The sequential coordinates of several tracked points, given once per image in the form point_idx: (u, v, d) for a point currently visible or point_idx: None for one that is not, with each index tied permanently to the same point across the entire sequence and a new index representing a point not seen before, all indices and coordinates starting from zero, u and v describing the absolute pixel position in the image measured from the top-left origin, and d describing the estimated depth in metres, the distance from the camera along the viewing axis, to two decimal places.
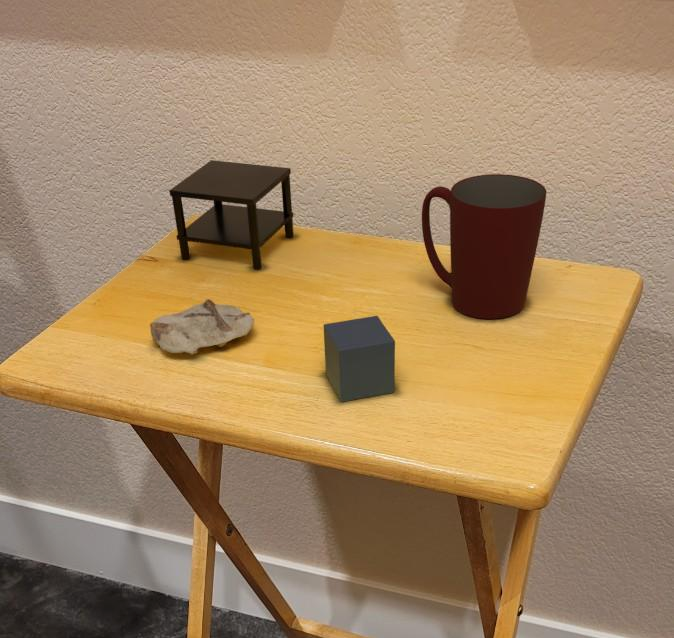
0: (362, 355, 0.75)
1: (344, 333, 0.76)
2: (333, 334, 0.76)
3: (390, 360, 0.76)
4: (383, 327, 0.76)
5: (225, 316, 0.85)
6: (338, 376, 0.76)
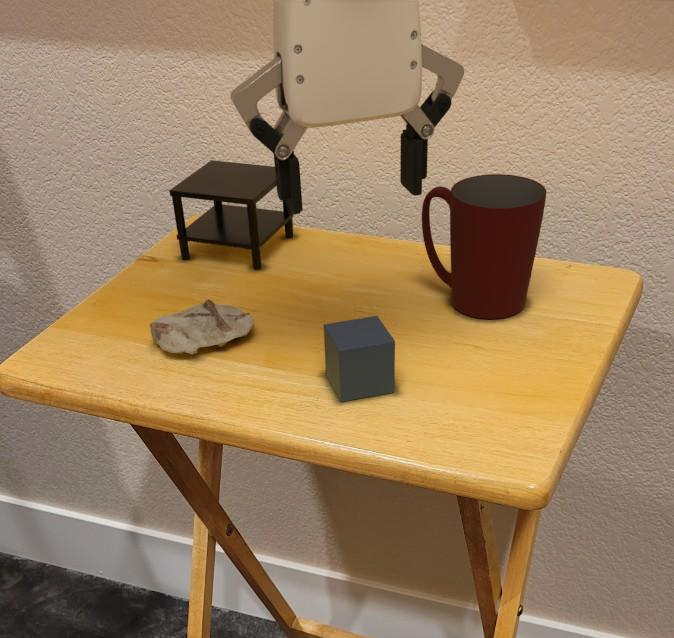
0: (362, 355, 0.75)
1: (344, 333, 0.76)
2: (333, 334, 0.76)
3: (390, 360, 0.76)
4: (383, 327, 0.76)
5: (225, 316, 0.85)
6: (338, 376, 0.76)
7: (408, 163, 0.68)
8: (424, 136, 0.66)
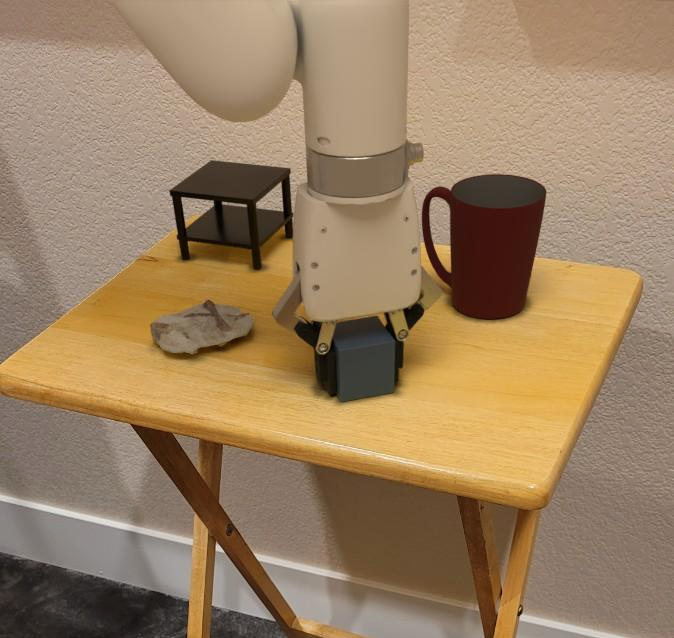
0: (362, 355, 0.75)
1: (344, 333, 0.76)
2: (333, 334, 0.76)
3: (390, 360, 0.76)
4: (383, 327, 0.76)
5: (225, 316, 0.85)
6: (338, 376, 0.76)
7: None
8: (400, 338, 0.76)
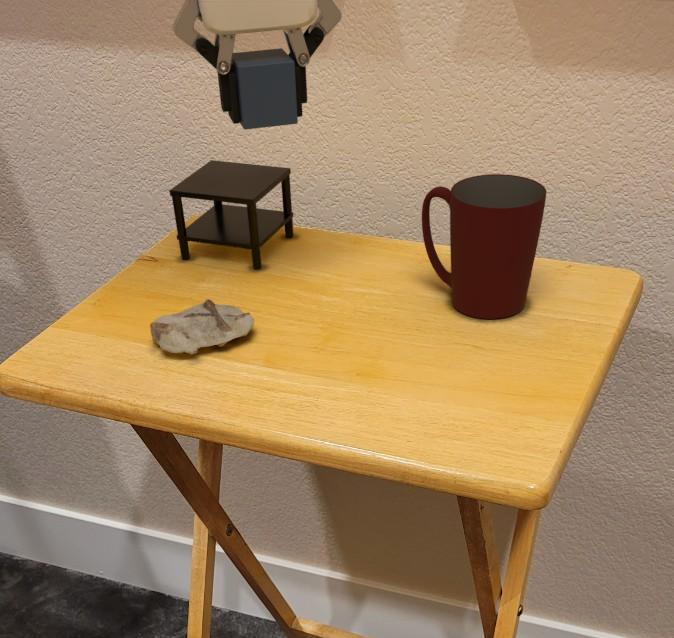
0: (262, 74, 0.77)
1: (246, 57, 0.78)
2: (235, 58, 0.78)
3: (291, 84, 0.78)
4: (285, 54, 0.78)
5: (225, 316, 0.85)
6: (240, 100, 0.78)
7: None
8: (301, 63, 0.78)
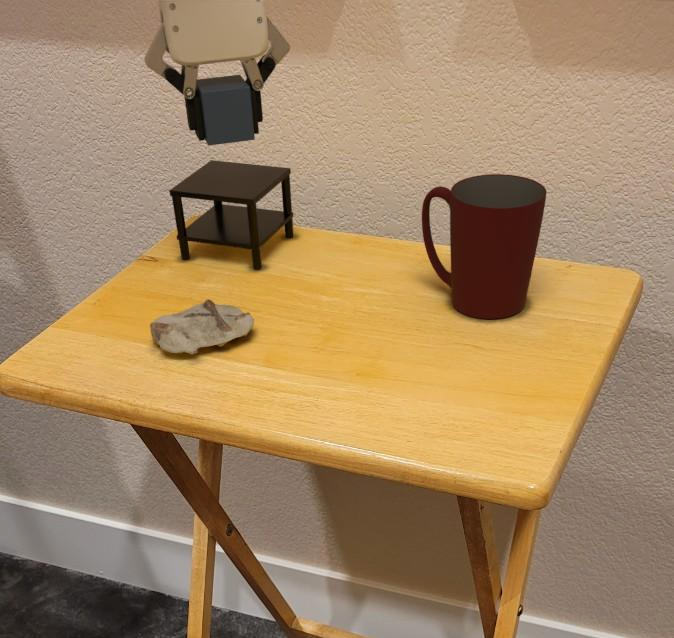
0: (222, 98, 0.89)
1: (209, 83, 0.90)
2: (199, 84, 0.90)
3: (247, 106, 0.90)
4: (242, 80, 0.91)
5: (225, 316, 0.85)
6: (204, 120, 0.90)
7: None
8: (256, 88, 0.90)
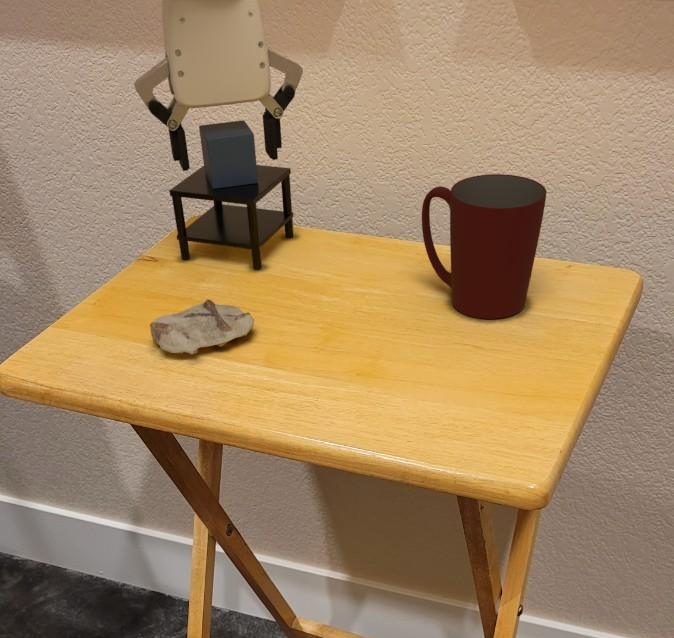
0: (227, 145, 0.92)
1: (214, 129, 0.93)
2: (204, 130, 0.93)
3: (251, 152, 0.93)
4: (246, 126, 0.94)
5: (225, 316, 0.85)
6: (209, 165, 0.93)
7: (267, 136, 0.94)
8: (276, 116, 0.93)
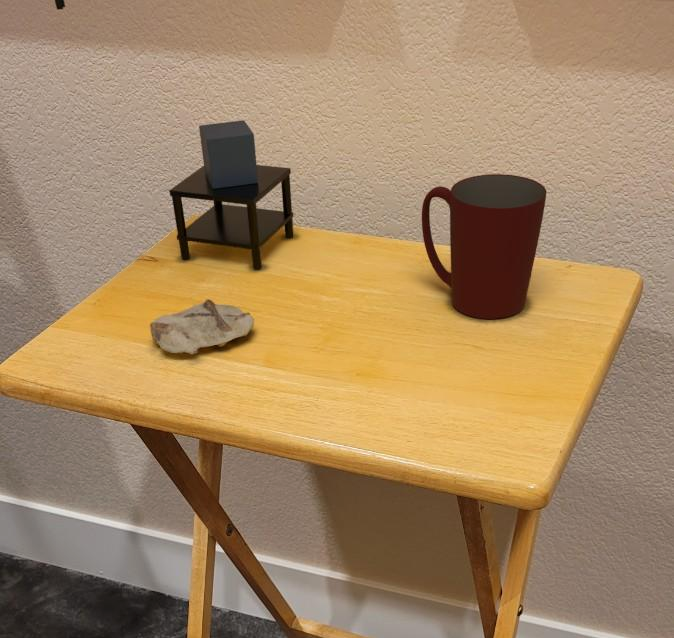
0: (227, 145, 0.92)
1: (214, 129, 0.93)
2: (204, 130, 0.93)
3: (251, 152, 0.93)
4: (246, 126, 0.94)
5: (225, 316, 0.85)
6: (209, 165, 0.93)
7: None
8: None
